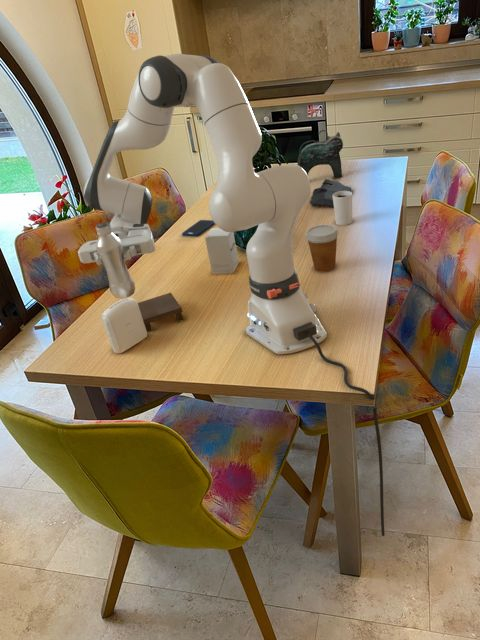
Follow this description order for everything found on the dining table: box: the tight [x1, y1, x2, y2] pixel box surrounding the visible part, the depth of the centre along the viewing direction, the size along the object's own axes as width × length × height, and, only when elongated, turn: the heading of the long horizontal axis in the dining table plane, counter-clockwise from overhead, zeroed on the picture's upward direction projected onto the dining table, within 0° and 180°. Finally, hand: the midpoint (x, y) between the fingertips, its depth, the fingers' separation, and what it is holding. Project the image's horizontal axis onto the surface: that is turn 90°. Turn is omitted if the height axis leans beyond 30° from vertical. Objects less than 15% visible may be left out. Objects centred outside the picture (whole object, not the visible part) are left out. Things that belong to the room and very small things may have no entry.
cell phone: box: [181, 219, 216, 237], centre depth 213 cm, size 7×14×1 cm, turn 153°
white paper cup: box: [333, 191, 353, 226], centre depth 196 cm, size 7×7×10 cm
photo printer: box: [100, 297, 148, 354], centre depth 146 cm, size 10×4×12 cm, turn 139°
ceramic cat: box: [296, 129, 344, 179], centre depth 237 cm, size 20×6×20 cm, turn 94°
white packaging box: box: [204, 227, 240, 275], centre depth 176 cm, size 7×7×13 cm
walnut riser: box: [137, 292, 184, 333], centre depth 157 cm, size 11×11×4 cm
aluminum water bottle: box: [95, 222, 136, 300], centre depth 146 cm, size 6×7×20 cm
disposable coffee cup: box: [305, 224, 339, 273], centre depth 167 cm, size 10×10×12 cm
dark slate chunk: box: [309, 178, 352, 208], centre depth 219 cm, size 15×22×5 cm
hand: (112, 259), depth 144 cm, fingers closed on aluminum water bottle, 6 cm apart
